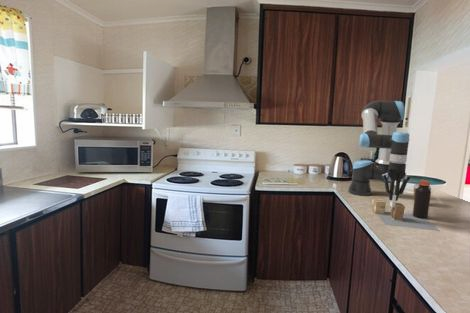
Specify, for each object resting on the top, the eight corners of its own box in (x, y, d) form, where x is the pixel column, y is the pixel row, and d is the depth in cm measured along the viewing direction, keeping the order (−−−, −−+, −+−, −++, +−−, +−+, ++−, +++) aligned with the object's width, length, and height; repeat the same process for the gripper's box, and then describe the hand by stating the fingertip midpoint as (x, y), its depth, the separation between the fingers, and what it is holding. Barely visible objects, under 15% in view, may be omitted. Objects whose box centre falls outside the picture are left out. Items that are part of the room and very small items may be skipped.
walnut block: (390, 216, 148) (392, 201, 147) (398, 217, 147) (401, 203, 146) (393, 220, 143) (396, 205, 141) (402, 221, 142) (404, 206, 140)
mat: (374, 211, 158) (374, 210, 158) (421, 216, 152) (421, 215, 152) (385, 225, 137) (385, 224, 136) (440, 231, 131) (440, 230, 131)
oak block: (371, 210, 157) (372, 198, 156) (380, 211, 157) (381, 199, 156) (375, 213, 152) (376, 201, 151) (384, 214, 152) (385, 202, 151)
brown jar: (413, 200, 181) (415, 183, 179) (430, 204, 174) (433, 186, 172) (409, 203, 174) (411, 185, 172) (427, 207, 167) (429, 188, 166)
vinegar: (430, 218, 147) (435, 182, 144) (420, 219, 145) (425, 182, 142) (418, 214, 154) (423, 179, 151) (409, 215, 152) (414, 179, 149)
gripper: (385, 162, 139) (380, 207, 143) (414, 164, 136) (408, 210, 139) (381, 160, 146) (377, 202, 150) (409, 162, 143) (403, 205, 147)
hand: (392, 206), depth 145 cm, fingers closed
